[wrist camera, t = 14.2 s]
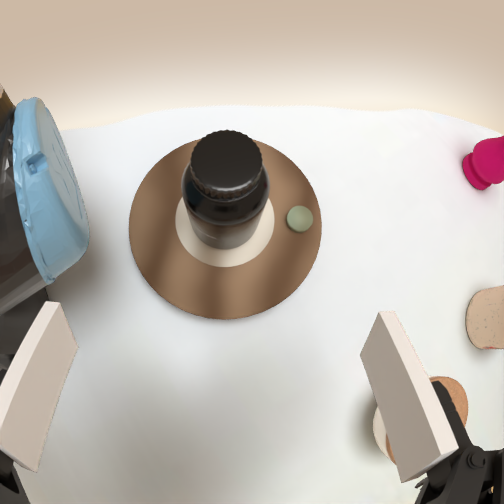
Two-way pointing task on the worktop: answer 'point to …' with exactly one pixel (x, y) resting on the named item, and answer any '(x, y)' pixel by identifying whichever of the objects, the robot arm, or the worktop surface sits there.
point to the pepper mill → (485, 163)
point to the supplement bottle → (225, 189)
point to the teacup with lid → (487, 318)
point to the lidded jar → (457, 398)
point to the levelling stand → (232, 260)
